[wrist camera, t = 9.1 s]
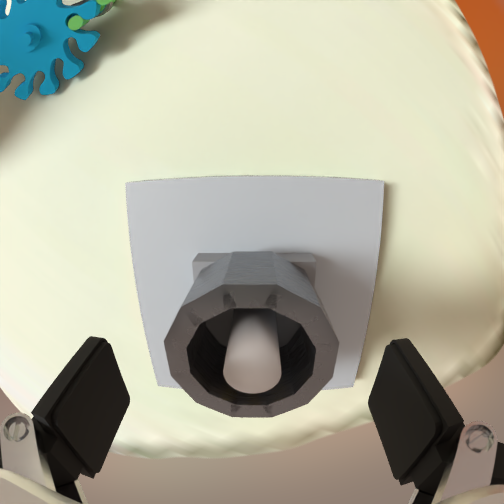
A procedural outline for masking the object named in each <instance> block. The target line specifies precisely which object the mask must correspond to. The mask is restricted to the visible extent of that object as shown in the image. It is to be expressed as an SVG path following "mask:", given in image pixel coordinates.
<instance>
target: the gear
mask: <svg viewBox="0 0 504 504" xmlns="http://www.w3.org/2000/svg"><path fill="white" fill-rule="evenodd" d="M115 1H116V0H83V1H80V2H78V3H75V4H73V5H71V6H68V5H64V4H63V3H62V0H26V1H25V0H12V4H11V9H10V13H9V15H8V16H7V15H6V14H5V9H6V5H7V0H0V65H6V66H7V67H8V69H9V73H8V72H4V73H2V74H0V92H2V91H4V89H5V88H6V87H7V86H8V85H9V84H10V82H11V80H12V78H13V76H15V75H16V74H18V73H22V74H23V75H24V76H25V81H24V82H22V83H21V84H20V85H19V86H18V87H17V89H16V90H15V96H16V97H18V98H20V99H23V100H26V99H27V98H28V97H29V95H30V94H31V93H32V92H33V80H34V77H35V75H36V73H37V72H38V71H42V72H43V73H44V74H45V80H44V81H43V83H42V84H41V86H40V89H39V90H40V93H41V95H49V94H53V93H55V91H56V90H57V89H58V87H59V80H58V79H57V77H56V75H55V61H56V58H59V59H61V60H62V61H63V62H64V67H63V76H64V78H65V79H67V80H68V79H71V78H72V77H74V76H75V75H77V74H78V73H79V72H80V71H81V70H82V69H83V68H84V64H83V62H82V61H81V60H80V59H78V58H76V57H75V56H74V55H73V54H72V53H71V51H70V48H69V45H68V38H70V37H72V38H75V39H76V41H77V45H78V48H79V49H80V50H81V51H83V52H88V51H89V50H90V49H91V48H92V47H93V46H94V45H95V44H96V42H97V41H98V39H99V37H100V34H99V33H98V32H97V31H85V30H81V29H79V28H81V27H82V26H84V25H85V24H87V23H88V22H89V20H90V19H92V18H95V17H98V16H101V15H103V14H105V13H106V12H108V11H109V10H110V9H111V7H112V5H113V3H114V2H115Z"/></svg>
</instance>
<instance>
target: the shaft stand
mask: <svg viewBox="0 0 504 504" xmlns="http://www.w3.org/2000/svg"><path fill="white" fill-rule="evenodd" d="M383 197H384V181H380V180H369V179H355V178H338V177H316V176H213V177H191V178H174V179H159V180H147V181H136V182H127V183H126V201H127V214H128V226H129V236H130V245H131V253H132V261H133V268H134V275H135V282H136V288H137V294H138V300H139V305H140V311H141V316H142V321H143V326H144V331H145V335H146V340H147V344H148V348H149V353H150V357H151V361H152V365H153V369H154V372H155V376H156V380H157V384H158V386H163V387H172V388H181V389H183V388H182V387H181V386H180V385H179V384H178V383H177V382H176V381H175V380H174V379H173V378H172V377H171V374H170V370H169V365H168V361H167V356H166V351H165V346H164V339H165V337H166V335H167V333H168V331H169V329H170V327H171V325H172V323H173V321H174V319H175V317H176V315H177V313H178V311H179V309H180V307H181V305H182V303H183V302H184V300H185V298H186V296H187V294H188V293H189V291H190V289H191V287H192V285H193V284H194V282H195V280H196V278H197V277H198V275H199V273H200V271H201V270H202V269H203V268H205V267H207V266H209V265H210V264H212V263H214V262H216V261H217V260H219V259H221V258H223V257H224V256H226V255H228V254H230V253H231V252H233V251H272V252H274V253H276V254H278V255H279V256H281V257H283V258H285V259H286V260H288V261H290V262H292V263H294V264H295V265H297V266H299V267H301V268H303V269H304V270H305V272H306V273H307V275H308V277H309V279H310V281H311V283H312V284H313V286H314V288H315V290H316V292H317V294H318V296H319V297H320V299H321V301H322V304H323V306H324V308H325V310H326V313H327V315H328V317H329V319H330V322H331V324H332V326H333V329H334V331H335V333H336V335H337V338H338V340H339V348H338V353H337V359H336V364H335V369H334V374H333V378H332V379H331V380H330V381H329V382H328V383H327V384H326V385H325V386H324V387H323V388H322V389H321V390H328V389H339V388H348V387H353V385H354V382H355V378H356V374H357V370H358V366H359V362H360V358H361V354H362V350H363V345H364V341H365V336H366V331H367V326H368V321H369V316H370V311H371V305H372V299H373V293H374V287H375V280H376V273H377V265H378V257H379V248H380V239H381V227H382V214H383ZM206 326H207V327H208V329H209V330H210V331H211V333H212V334H213V335H214V337H215V338H216V339H217V341H218V342H219V343H220V344H222V345H224V346H226V347H227V352H226V357H225V363H224V369H223V375H224V378H225V380H226V382H227V383H228V384H229V385H230V386H231V387H233V388H234V389H236V390H238V391H241V392H244V393H252V394H253V393H261V392H265V391H268V390H270V389H271V388H273V387H274V386H275V385H276V384H277V383H278V382H279V380H280V378H281V363H280V352H279V348H280V347H282V346H284V345H286V344H287V343H288V342H289V341H290V340H291V338H292V337H293V336H294V334H295V333H296V332H297V330H298V329H299V328H300V326H301V324H300V323H298V322H296V321H294V320H292V319H290V318H288V317H286V316H284V315H282V314H280V313H278V312H276V311H274V310H272V309H270V308H230V309H228V310H226V311H224V312H222V313H220V314H218V315H216V316H214V317H212V318H210V319H208V320H206Z"/></svg>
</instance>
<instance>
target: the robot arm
mask: <svg viewBox="0 0 504 504" xmlns="http://www.w3.org/2000/svg"><path fill="white" fill-rule="evenodd" d="M129 403H130V396H129V393H128V391H127V388H126V386H125V383H124V381H123V378H122V375H121V373H120V370H119V367H118V364H117V361H116V359H115V356H114V353H113V350H112V347H111V345H110V343H108V342H107V340H106V339H104V338H99V337H92V336H91V337H89V338H88V339H87V340H86V341H85V342H84V344H83V345H82V346H81V347H80V349H79V350H78V351H77V352H76V353H75V355H74V356H73V357H72V359H71V360H70V361H69V362H68V364H67V365H66V366H65V367H64V369H63V370H62V371H61V373H60V374H59V375H58V377H57V378H56V379H55V380H54V382H53V383H52V384H51V386H50V387H49V388H48V390H47V391H46V393H45V394H44V395H43V397H42V398H41V399H40V401H39V402H38V404H37V405H36V406H35V408H34V409H33V411H32V412H31V413H32V414H33V416H34V417H33V418H32V419H31V418H30V417H29V416H28V415H26V414H24V413H14V414H11V415H9V416H8V417H7V418H6V419H5V420H4V421H3V422H2V425H1V428H0V504H88V502H87V500H86V498H85V495H84V493H83V490H82V488H81V485H80V482H79V480H78V477H79V474H80V473H81V474H83V475H85V476H88V477H91V478H94V476H95V474H96V473H98V472H100V470H101V468H102V466H103V463H104V461H105V458H106V456H107V453H108V451H109V449H110V447H111V444H112V442H113V440H114V437H115V435H116V433H117V430H118V428H119V426H120V424H121V421H122V419H123V417H124V415H125V413H126V410H127V408H128V406H129ZM368 405H369V409H370V412H371V414H372V417H373V420H374V422H375V425H376V428H377V430H378V433H379V436H380V439H381V441H382V444H383V447H384V450H385V453H386V456H387V458H388V461H389V464H390V467H391V470H392V473H393V476H394V478H395V479H396V480H398V479H399V482H400V485H404V484H407V483H410V482H414V484H415V487H416V488H415V491H414V493H413V495H412V497H411V499H410V501H409V503H408V504H504V444H503V443H500V442H498V440H497V434H496V432H495V430H494V429H493V427H492V426H490V425H489V424H487V423H485V422H483V421H474V422H471V423H469V424H467V425H466V426H465V425H464V423H463V421H464V420H463V418H462V417H461V415H460V414H459V412H458V410H457V409H456V407H455V406H454V404H453V402H452V401H451V399H450V398H449V396H448V395H447V394H446V392H445V390H444V389H443V387H442V386H441V384H440V383H439V381H438V380H437V378H436V377H435V375H434V374H433V372H432V371H431V369H430V368H429V366H428V365H427V364H426V362H425V361H424V359H423V358H422V356H421V355H420V354H419V352H418V351H417V349H416V348H415V347H414V345H413V344H412V343H411V341H410V340H409V339H407V338H405V339H398V340H392V341H391V342H390V345H387V346H386V348H385V351H384V355H383V358H382V361H381V364H380V367H379V371H378V374H377V377H376V379H375V382H374V385H373V388H372V391H371V394H370V396H369V400H368Z"/></svg>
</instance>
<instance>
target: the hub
mask: <svg viewBox="0 0 504 504" xmlns="http://www.w3.org/2000/svg"><path fill="white" fill-rule="evenodd" d="M230 308H270V309H272V310H274V311H276V312H278V313H280V314H282V315H284V316H286V317H288V318H290V319H292V320H294V321H296V322H298V323H300V324H301V326H300V328H299V329H298V330H297V332H296V333H295V334H294V336H293V337H292V338H291V340H290V341H289V342H288V343H287V344H286V345H284V346H282V347H280V348H279V352H280V363H281V378H280V380H279V382H278V383H277V384H276V385H275V386H274V387H273V388H271V389H270V390H268V391H265V392H261V393H253V394H252V393H244V392H241V391H238V390H236V389H234V388H233V387H231V386H230V385H229V384H228V383H227V382H226V380H225V378H224V375H223V369H224V363H225V357H226V352H227V347H226V346H224V345H222V344H220V343H219V342H218V341H217V339H216V338H215V337H214V335H213V334H212V333H211V331H210V330H209V329H208V327H207V326H206V320H208V319H210V318H212V317H214V316H216V315H218V314H220V313H222V312H224V311H226V310H228V309H230ZM164 346H165V351H166V356H167V361H168V365H169V370H170V374H171V377H172V378H173V379H174V380H175V381H176V382H177V383H178V384H179V385H180V386H181V387H182V388H183V389H184V390H185V392H186V393H187V394H188V395H189V396H190V397H191V398H192V399H193V400H194V401H195V402H196V403H199V404H201V405H203V406H206V407H208V408H211V409H213V410H216V411H218V412H221V413H223V414H226V415H228V416H231V417H274V416H277V415H280V414H282V413H285V412H288V411H290V410H293V409H295V408H298V407H301V406H303V405H305V404H308V403H309V402H310V401H311V400H312V399H313V398H314V397H315V396H316V395H317V394H318V393H319V392H320V390H321V389H322V388H323V387H324V386H325V385H326V384H327V383H328V382H329V381H330V380H331V379H332V378H333V374H334V369H335V364H336V359H337V353H338V348H339V340H338V338H337V335H336V333H335V331H334V329H333V326H332V324H331V322H330V319H329V317H328V315H327V313H326V310H325V308H324V306H323V304H322V301H321V299H320V297H319V296H318V294H317V292H316V290H315V288H314V286H313V284H312V283H311V281H310V279H309V277H308V275H307V273H306V272H305V270H304V269H303V268H301V267H299V266H297V265H295V264H294V263H292V262H290V261H288V260H286V259H285V258H283V257H281V256H279V255H278V254H276V253H274V252H272V251H233V252H231V253H230V254H228V255H226V256H224V257H223V258H221V259H219V260H217V261H216V262H214V263H212V264H210V265H209V266H207V267H205V268H203V269H202V270H201V271H200V273H199V275H198V277H197V278H196V280H195V282H194V284H193V285H192V287H191V289H190V291H189V293H188V294H187V296H186V298H185V300H184V302H183V303H182V305H181V307H180V309H179V311H178V313H177V315H176V317H175V319H174V321H173V323H172V325H171V327H170V329H169V331H168V333H167V335H166V337H165V339H164Z"/></svg>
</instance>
